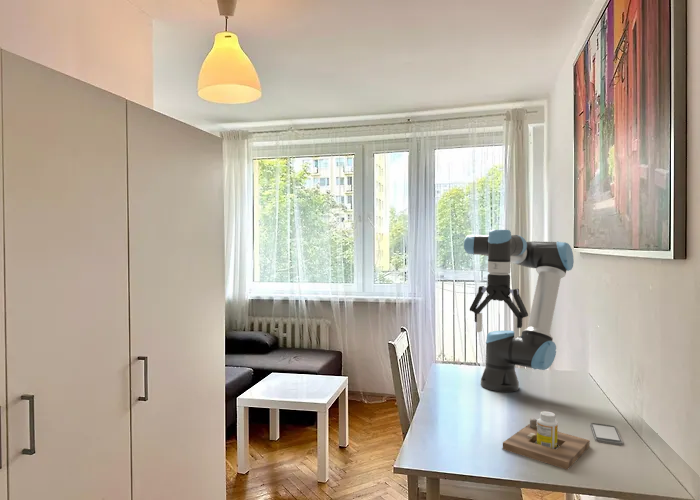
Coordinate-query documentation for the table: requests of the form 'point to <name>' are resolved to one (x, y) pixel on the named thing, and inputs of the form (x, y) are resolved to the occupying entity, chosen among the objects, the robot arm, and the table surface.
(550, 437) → the supplement bottle
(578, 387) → the table surface
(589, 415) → the table surface
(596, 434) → the smartphone
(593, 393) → the table surface
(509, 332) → the robot arm
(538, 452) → the wooden slotted board
